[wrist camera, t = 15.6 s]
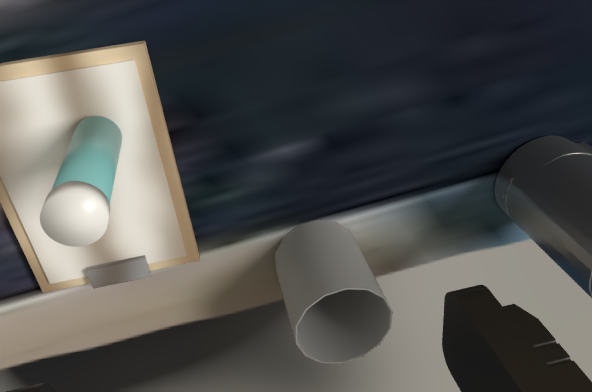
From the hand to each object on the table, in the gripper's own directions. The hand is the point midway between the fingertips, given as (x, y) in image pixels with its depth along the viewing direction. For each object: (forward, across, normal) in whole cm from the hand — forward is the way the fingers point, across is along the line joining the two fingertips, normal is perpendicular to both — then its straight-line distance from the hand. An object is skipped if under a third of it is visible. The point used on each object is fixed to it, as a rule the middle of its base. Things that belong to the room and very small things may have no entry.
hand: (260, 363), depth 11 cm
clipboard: (+33, +11, +11) cm, 37 cm away
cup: (+33, -7, +24) cm, 42 cm away
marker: (+32, +9, +7) cm, 34 cm away
